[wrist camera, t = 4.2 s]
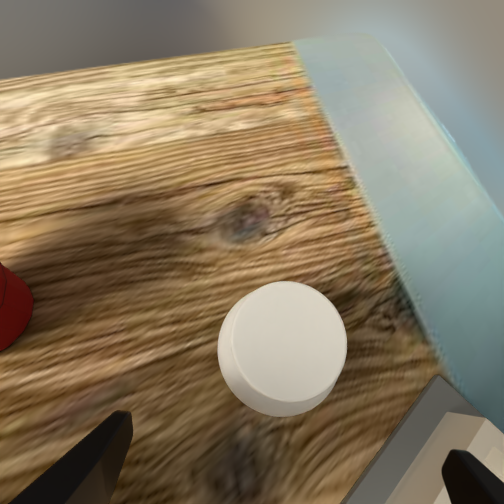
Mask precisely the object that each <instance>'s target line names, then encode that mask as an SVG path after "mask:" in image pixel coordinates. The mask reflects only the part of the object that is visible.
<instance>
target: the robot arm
mask: <svg viewBox="0 0 504 504" xmlns="http://www.w3.org/2000/svg"><path fill="white" fill-rule="evenodd" d="M132 437H133V425H132V415H131V413H130V412H129V411H121V410H117V411H115V412H113V413H112V414H111V415H110V416H109V417H108V418H106V419H105V420H104V421H103V422H102V423H101V424H99V425H98V426H97V427H96V428H95V429H94V430H93V431H91V432H90V433H89V434H88V435H87V436H86V437H84V438H83V439H82V440H81V441H80V442H79V443H78V444H76V445H75V446H74V447H73V448H72V449H71V450H69V451H68V452H67V453H66V454H65V455H64V456H63V457H61V458H60V459H59V460H58V461H57V462H56V463H55V464H53V465H52V466H51V467H50V468H49V469H48V470H46V471H45V472H44V473H43V474H42V475H41V476H40V477H38V478H37V479H36V480H35V481H34V482H33V483H31V484H30V485H29V486H28V487H27V488H26V489H25V490H23V491H22V492H21V493H20V494H19V495H18V496H16V497H15V498H14V499H13V500H12V501H11V502H10V503H8V504H109V502H110V499H111V497H112V494H113V491H114V488H115V485H116V483H117V480H118V477H119V474H120V471H121V469H122V466H123V463H124V460H125V457H126V455H127V452H128V449H129V446H130V443H131V440H132ZM441 473H442V478H443V481H444V484H445V487H446V490H447V493H448V496H449V499H450V502H451V504H504V482H503V481H501V480H500V479H499V478H498V477H497V476H496V475H495V474H494V473H493V472H491V471H490V470H489V469H488V468H487V467H486V466H485V465H484V464H483V463H481V462H480V461H479V460H478V459H477V458H476V457H475V456H474V455H473V454H471V453H470V452H468V451H466V450H459V449H452V450H450V451H449V453H448V455H447V457H446V459H445V461H444V463H443V465H442V469H441Z"/></svg>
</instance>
